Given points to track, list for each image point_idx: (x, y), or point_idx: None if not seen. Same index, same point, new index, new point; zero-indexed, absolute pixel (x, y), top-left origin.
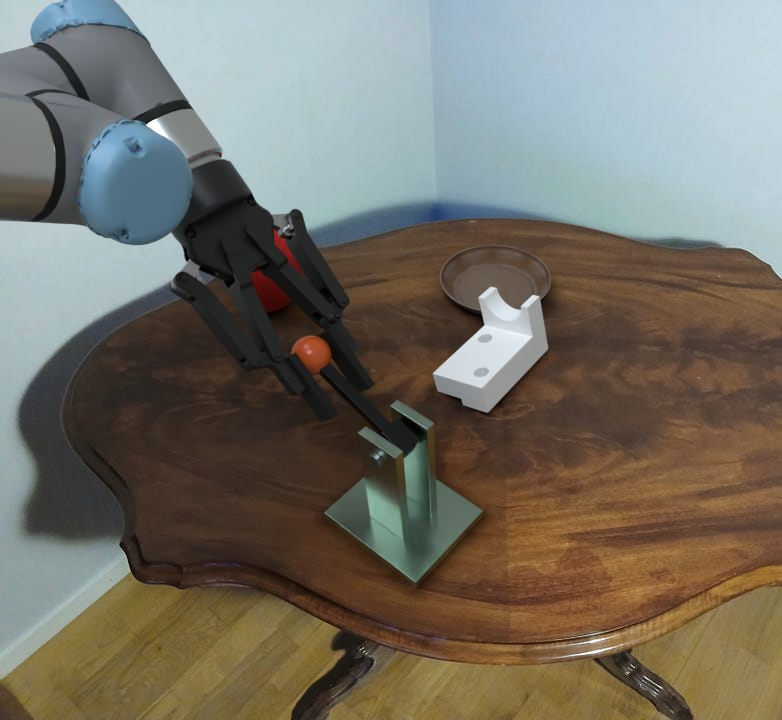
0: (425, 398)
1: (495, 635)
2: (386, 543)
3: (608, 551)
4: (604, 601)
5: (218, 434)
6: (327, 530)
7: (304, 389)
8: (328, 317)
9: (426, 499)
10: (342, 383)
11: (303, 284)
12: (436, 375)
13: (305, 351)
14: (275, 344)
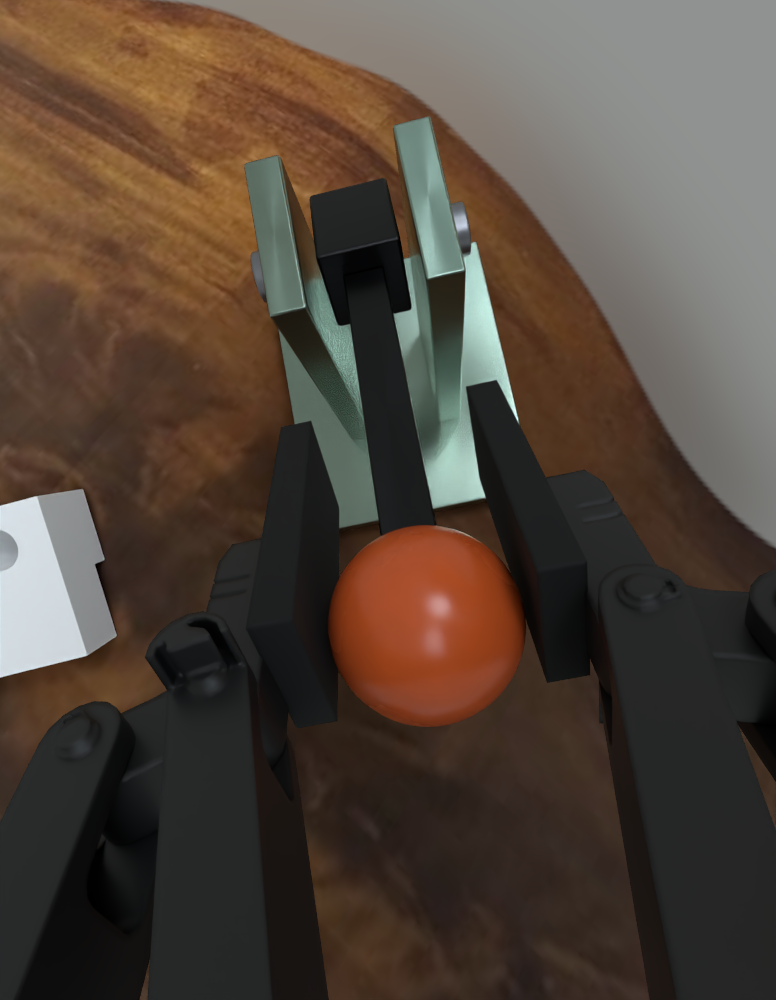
0: (153, 636)
1: (420, 113)
2: (471, 341)
3: (162, 121)
4: (239, 61)
5: (621, 898)
6: (542, 466)
7: (551, 479)
8: (237, 679)
9: (351, 339)
10: (394, 437)
11: (198, 983)
12: (84, 642)
13: (469, 583)
14: (647, 639)
